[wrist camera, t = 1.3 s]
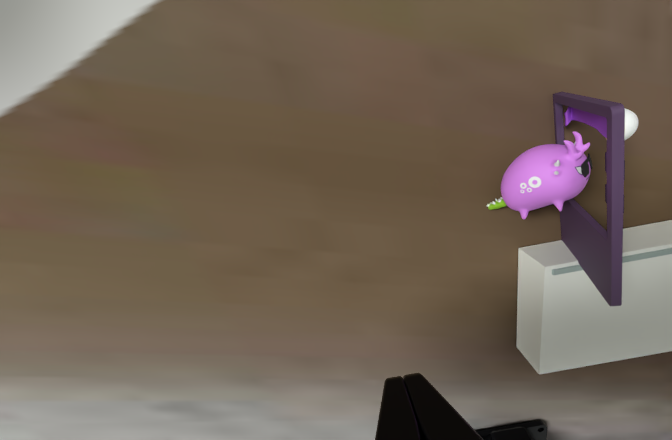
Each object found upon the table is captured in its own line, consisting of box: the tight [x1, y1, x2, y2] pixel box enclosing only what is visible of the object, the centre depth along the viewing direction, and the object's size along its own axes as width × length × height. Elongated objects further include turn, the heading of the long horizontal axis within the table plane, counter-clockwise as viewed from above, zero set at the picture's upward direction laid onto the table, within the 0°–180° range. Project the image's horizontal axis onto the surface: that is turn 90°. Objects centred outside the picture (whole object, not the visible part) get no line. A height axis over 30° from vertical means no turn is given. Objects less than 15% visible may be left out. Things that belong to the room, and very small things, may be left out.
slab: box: [516, 220, 672, 374], centre depth 20 cm, size 8×10×3 cm
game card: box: [487, 92, 638, 306], centre depth 16 cm, size 7×5×9 cm
